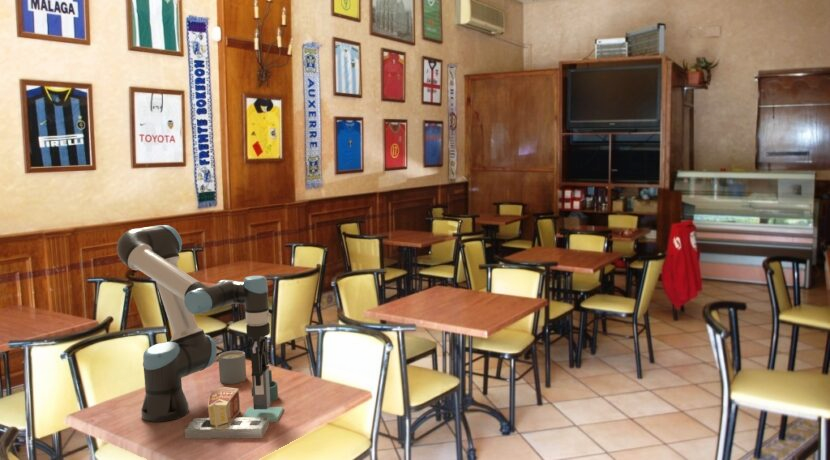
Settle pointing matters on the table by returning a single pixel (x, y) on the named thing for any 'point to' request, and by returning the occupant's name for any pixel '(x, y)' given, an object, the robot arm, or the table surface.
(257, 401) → the grey rectangular block
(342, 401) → the table surface
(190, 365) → the robot arm
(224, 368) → the coffee mug
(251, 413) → the teal pad
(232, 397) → the milk carton
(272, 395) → the bracket
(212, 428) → the rail
